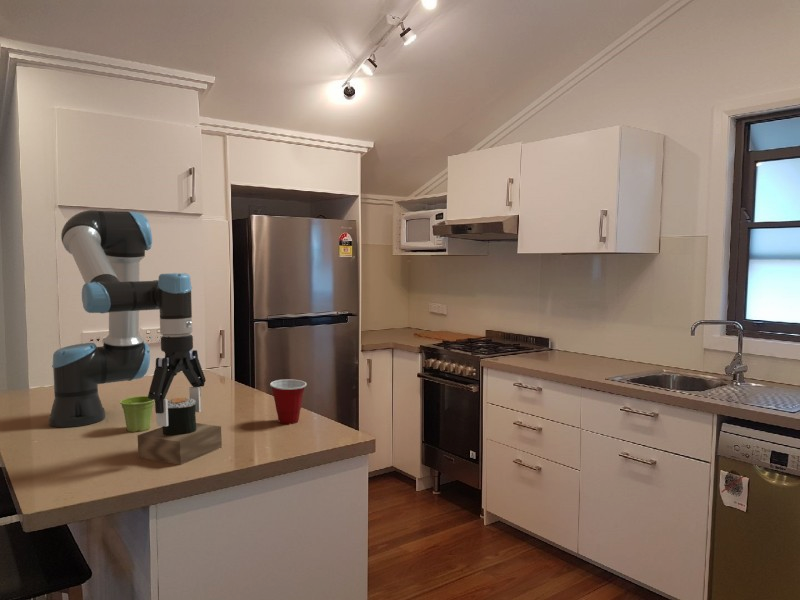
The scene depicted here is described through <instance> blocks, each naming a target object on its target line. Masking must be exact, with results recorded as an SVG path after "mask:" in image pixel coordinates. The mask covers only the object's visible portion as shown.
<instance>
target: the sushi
mask: <svg viewBox="0 0 800 600" xmlns="http://www.w3.org/2000/svg"><path fill="white" fill-rule="evenodd" d="M195 402H196V401H195V400H194V399H190V397H189V398H188V397H180V398H179V397H178V398H171V399H169V400H168V426H167V427H166V426H162V427H163V434H165V435H181V434H189V433H192V432H195V431H196V423H197V418H196V412H195V408H196V403H195Z"/></svg>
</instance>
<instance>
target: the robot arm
mask: <svg viewBox="0 0 800 600" xmlns="http://www.w3.org/2000/svg"><path fill="white" fill-rule="evenodd" d="M60 238H61V243H62V246H63V247H64V249H65V250H66V251H67V253H69V254H70V255H72V257H73V260H74V262H75V264H76V266H77V268H78V271H79V272H80V275H81V278H82V279H83V281H84V284H83V286H82V289H81V301H82V307H83V310H84V311H85V312H87V313H89V314H98V313H99V314H107V313H108V335H107V336H106V337H105V338H104V339H103V345H102V346H97V344H96V343H95V342H86V343H78V344H72V345H67V346H64V347H61V348H59V349H57V350H56V351H54V353H53V354H52V356H53V357H52V369H53V370H52V371H53V388H54V389H53V390H54V393H53V394H54V400H53V404H52V407H51V410H50V411H51V413H50V414H49V415H48V423H49V426H51V427H54V428H55V427H56V428H70V427H71V428H72V427H80V426H86V425H91V424H95V423H98V422H101V421H103V420H104V419H105V418H106V410H105V408H104V407H103V403H102V401H101V399H100V396H99V388H98V387H99V385H102V384H111V383H117V382H118V383H119V382H126V381H127V382H130V381H131V382H132V381H134V380H139V379H141V378H144V376H146V375H147V373H148V371H149V368H150V362H151V354H150V347H149V345H148V343H146V342H145V341H144V338H143V337H142V336H141V335H140V334H139V329H140V327H139V326H140V323H139V322H140V321H139V320H140V311H154V310H155V311H157V310H159V334H160V335H161V337H160V349H161V352H163V353H164V357H156V358H155V368H154V370H153V371H154V372H153V375H152V378H151V379H152V380H151V384H150V387H149V390H148V394H147V396H148V398H149V399H152V400H155V401H154V409H155V410H154V411H155V414H156V415H155V416H156V426H157V427H163V426H166V427H167V426H168V401H169V400H168V399H167V398H166V397H167V394H168V392H169V389H170V387H171V385H172V382H173V380H174V377H175V376H177V374H179V373H181V372H182V373H183V374H184V377H185V378H186V379H187V381H188V383H189V384H190V385H191V386H190V387H189V389H188V390H189V391H188V392H189V399H194V400H195V401H196V402H195V403H196V408H195V413H201V412H202V405H201V397H202V394H201V393H202V391H201V387H205V382H206V377H205V374H204V372H203V371H204V370H203V368H202V365H201V363H200V359H199V355H198V350H193V348H194V336H193V335H192V332H193V321H192V318H193V315H192V314H193V313H192V312H193V311H192V310H193V309H192V308H193V307H192V305H193V304H192V289H193V287H192V282H191V276H190V275H189V274H188V273H186V272H184V273H180V272H179V273H177V272H176V273H175V272H174V273H160V274H159V276H158V279H157V280H156V279H155V280H145V281H144V280H140V263H141V261H142V260H143V259H144V258H145V257H146V251H149V250H150V249H151V248H152V244H153V235H152V229H151V226H150V222H149V220H148V218H147V217H146V216H145V214H143V213H141V212H136V211H135V212H134V211H127V210H126V211H122V210H95V209H90V210H83V211H81V212H78V213H76V214H74V215H73V216H71V217H70V218H69V219H68V220H67V221H66V223H64V225H63V227H62V229H61V236H60Z"/></svg>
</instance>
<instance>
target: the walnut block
mask: <svg viewBox="0 0 800 600" xmlns="http://www.w3.org/2000/svg"><path fill="white" fill-rule="evenodd" d="M222 442H223V441H222V425H214V424H213V425H212V424H205V423H198V422H196V431H195V432H192V433H189V434H181V435H165V434H163V426H160V427H158V428H155V429H153V430H149V431H146V432H142V433H141V434H137V450H138V451H137V452H138V454H137V455H138V458H139V457H140V458H141V459H145V458H146V460H151V461H155V462H156V461H157V462H162V463H169V464H175V465H180V466H181V465H184V464H186V463H189V462H191V461H194V460H196V459H198V458H202V456H206V455H208V454H210V453H213V452H214V451H217V450H219V448H220V449H222V448H223V447H222V445H223V444H222Z"/></svg>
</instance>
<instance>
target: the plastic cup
mask: <svg viewBox="0 0 800 600" xmlns="http://www.w3.org/2000/svg"><path fill="white" fill-rule="evenodd" d="M307 385H308V384H307V382H306V381H303V380H300V379H290V378H289V379H287V378H286V379H276V380H274V381H271V382H270V384H269V386H270V388H271V390H272V395H273V399H274V405H275V409H276V413H277V419H278V422H279V424H283V425H291V424H296V423H298V422H299V419H300V415H301V409H302V403H303V396H304V392H305V388H306V387H307Z"/></svg>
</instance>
